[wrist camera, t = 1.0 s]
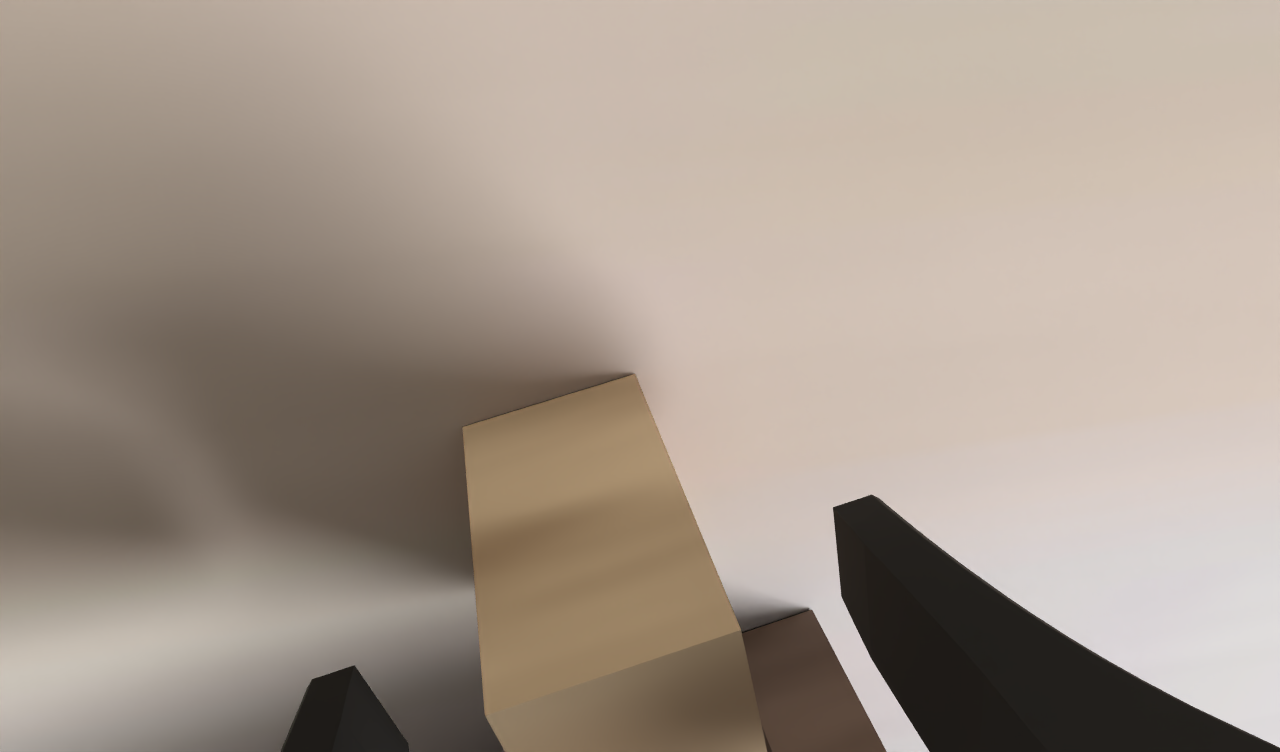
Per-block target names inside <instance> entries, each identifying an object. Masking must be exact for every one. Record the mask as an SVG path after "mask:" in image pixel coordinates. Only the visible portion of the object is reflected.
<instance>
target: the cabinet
mask: <svg viewBox="0 0 1280 752" xmlns="http://www.w3.org/2000/svg"><path fill="white" fill-rule="evenodd" d="M742 637H743V642H744V646H745V651H746V656H747V660H748V665H749V669H750V674H751V679H752V683H753V688H754V693H755V697H756V702H757V706H758V711H759V716H760V720H761V725H762V730H763V734H764V739H765V744H766V748H767V752H886V750H885V748H884V746H883V744H882V742H881V740H880V738H879V737H878V735H877V733H876V731H875V729H874V727H873V725H872V723H871V721H870V719H869V717H868V716H867V714H866V712H865V710H864V708H863V706H862V704H861V702H860V700H859V698H858V696H857V695H856V693H855V691H854V689H853V687H852V685H851V683H850V681H849V679H848V677H847V675H846V674H845V672H844V670H843V668H842V666H841V664H840V662H839V660H838V658H837V656H836V655H835V653H834V651H833V649H832V647H831V645H830V643H829V641H828V639H827V637H826V635H825V634H824V632H823V630H822V628H821V626H820V624H819V622H818V620H817V618H816V616H815V614H814V613H813V611H812V610H809V611H806V612H803V613H801V614H798V615H795V616H792V617H789V618H786V619H783V620H780V621H777V622H774V623H771V624H768V625H765V626H762V627H759V628H756V629H753V630H750V631H747V632H744V633H742Z"/></svg>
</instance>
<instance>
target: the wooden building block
mask: <svg viewBox="0 0 1280 752" xmlns="http://www.w3.org/2000/svg"><path fill="white" fill-rule="evenodd" d="M462 428H463V441H464V453H465V466H466V479H467V492H468V505H469V518H470V531H471V543H472V556H473V569H474V582H475V595H476V608H477V621H478V633H479V646H480V659H481V672H482V685H483V698H484V711H485V717H486V718H487V720H488V722H489V724H490V726H491V727H492V729H493V731H494V733H495V735H496V736H497V738H498V740H499V742H500V744H501V745H502V747H503V749H504V751H505V752H767V748H766V744H765V739H764V734H763V730H762V725H761V720H760V716H759V711H758V706H757V702H756V697H755V693H754V688H753V683H752V679H751V674H750V669H749V665H748V660H747V656H746V651H745V646H744V642H743V637H742V632H741V629H740V626H739V624H738V622H737V619H736V617H735V614H734V612H733V609H732V607H731V605H730V602H729V600H728V597H727V595H726V593H725V590H724V588H723V585H722V583H721V580H720V578H719V576H718V573H717V571H716V568H715V566H714V564H713V561H712V559H711V556H710V554H709V551H708V549H707V547H706V544H705V542H704V539H703V537H702V535H701V532H700V530H699V527H698V525H697V523H696V520H695V518H694V515H693V513H692V510H691V508H690V506H689V503H688V501H687V498H686V496H685V494H684V491H683V489H682V486H681V484H680V481H679V479H678V477H677V474H676V472H675V469H674V467H673V465H672V462H671V460H670V457H669V455H668V452H667V450H666V448H665V445H664V443H663V440H662V438H661V436H660V433H659V431H658V428H657V426H656V424H655V421H654V419H653V416H652V414H651V411H650V409H649V407H648V404H647V402H646V399H645V397H644V395H643V392H642V390H641V387H640V385H639V382H638V380H637V378H636V375H635V374H633V375H630V376H627V377H623V378H620V379H617V380H614V381H610V382H607V383H604V384H601V385H597V386H594V387H591V388H588V389H584V390H581V391H578V392H575V393H571V394H568V395H565V396H562V397H559V398H555V399H552V400H549V401H546V402H542V403H539V404H536V405H533V406H529V407H526V408H523V409H520V410H516V411H513V412H510V413H507V414H503V415H500V416H497V417H494V418H490V419H487V420H484V421H481V422H477V423H474V424H471V425H468V426H464V427H462Z"/></svg>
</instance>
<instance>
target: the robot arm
mask: <svg viewBox="0 0 1280 752" xmlns="http://www.w3.org/2000/svg"><path fill="white" fill-rule="evenodd" d="M833 512H834V523H835V533H836V543H837V554H838V564H839V575H840V585H841V596H842V599H843V601H844V603H845V605H846V607H847V609H848V611H849V613H850V615H851V618H852V620H853V622H854V624H855V626H856V628H857V630H858V632H859V634H860V636H861V638H862V640H863V642H864V644H865V646H866V648H867V650H868V653H869V655H870V657H871V659H872V660H873V662H874V664H875V665H876V667H877V668H878V670H879V672H880V673H881V675H882V677H883V678H884V680H885V681H886V683H887V685H888V686H889V688H890V689H891V691H892V693H893V694H894V696H895V697H896V699H897V701H898V702H899V704H900V705H901V707H902V709H903V710H904V712H905V713H906V715H907V717H908V718H909V720H910V721H911V723H912V724H913V726H914V728H915V729H916V731H917V732H918V734H919V736H920V737H921V739H922V740H923V742H924V744H925V745H926V747H927V748H928V750H929V751H930V752H1280V748H1279V747H1277V746H1275V745H1273V744H1271V743H1268V742H1266V741H1264V740H1262V739H1260V738H1258V737H1256V736H1254V735H1252V734H1249V733H1247V732H1245V731H1243V730H1241V729H1239V728H1237V727H1235V726H1233V725H1230V724H1228V723H1226V722H1224V721H1222V720H1220V719H1218V718H1216V717H1214V716H1211V715H1209V714H1207V713H1205V712H1203V711H1201V710H1199V709H1197V708H1195V707H1193V706H1191V705H1189V704H1187V703H1185V702H1183V701H1181V700H1179V699H1177V698H1175V697H1173V696H1172V695H1170V694H1168V693H1166V692H1164V691H1162V690H1160V689H1158V688H1156V687H1155V686H1153V685H1151V684H1149V683H1147V682H1145V681H1143V680H1141V679H1140V678H1138V677H1136V676H1134V675H1132V674H1131V673H1129V672H1127V671H1125V670H1124V669H1122V668H1120V667H1118V666H1117V665H1115V664H1113V663H1111V662H1109V661H1108V660H1106V659H1104V658H1102V657H1101V656H1099V655H1097V654H1096V653H1094V652H1092V651H1091V650H1089V649H1087V648H1086V647H1084V646H1082V645H1081V644H1079V643H1077V642H1076V641H1074V640H1073V639H1071V638H1069V637H1068V636H1066V635H1064V634H1063V633H1061V632H1060V631H1058V630H1057V629H1055V628H1054V627H1052V626H1050V625H1049V624H1047V623H1046V622H1044V621H1043V620H1041V619H1040V618H1038V617H1036V616H1035V615H1033V614H1032V613H1030V612H1029V611H1027V610H1026V609H1024V608H1023V607H1021V606H1020V605H1018V604H1017V603H1016V602H1014V601H1013V600H1011V599H1010V598H1008V597H1007V596H1005V595H1004V594H1002V593H1001V592H1000V591H998V590H997V589H995V588H994V587H993V586H991V585H990V584H988V583H987V582H986V581H984V580H983V579H981V578H980V577H979V576H977V575H976V574H974V573H973V572H972V571H970V570H969V569H967V568H966V567H965V566H963V565H962V564H961V563H959V562H958V561H957V560H955V559H954V558H953V557H951V556H950V555H949V554H947V553H946V552H945V551H944V550H942V549H941V548H940V547H938V546H937V545H936V544H935V543H933V542H932V541H931V540H929V539H928V538H927V537H926V536H924V535H923V534H922V533H921V532H919V531H918V530H917V529H915V528H914V527H913V526H912V525H911V524H909V523H908V522H907V521H906V520H904V519H903V518H902V517H901V516H900V515H898V514H897V513H896V512H895V511H893V510H892V509H891V508H890V507H889V506H887V505H886V504H885V503H884V502H883V501H882V500H880V499H879V498H877V497H875V496H873V495H869V496H866V497H863V498H860V499H857V500H854V501H851V502H848V503H845V504H842V505H839V506H836V507H833ZM281 752H409V748H408V743H407V741H406V740H405V738H404V737H403V735H402V734H401V733H400V731H399V730H398V728H397V727H396V725H395V724H394V722H393V721H392V719H391V718H390V716H389V715H388V714H387V712H386V711H385V709H384V708H383V706H382V705H381V703H380V702H379V700H378V699H377V697H376V696H375V695H374V693H373V692H372V690H371V689H370V687H369V686H368V684H367V683H366V681H365V680H364V679H363V677H362V676H361V674H360V673H359V671H358V670H357V668H356V667H355V665H354V666H351V667H348V668H345V669H342V670H339V671H336V672H333V673H330V674H327V675H324V676H321V677H318V678H315V679H312V681H311V682H310V684H309V686H308V688H307V690H306V692H305V695H304V697H303V700H302V702H301V704H300V707H299V709H298V711H297V714H296V716H295V719H294V721H293V723H292V726H291V728H290V730H289V733H288V735H287V738H286V740H285V742H284V745H283V747H282V749H281Z"/></svg>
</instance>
